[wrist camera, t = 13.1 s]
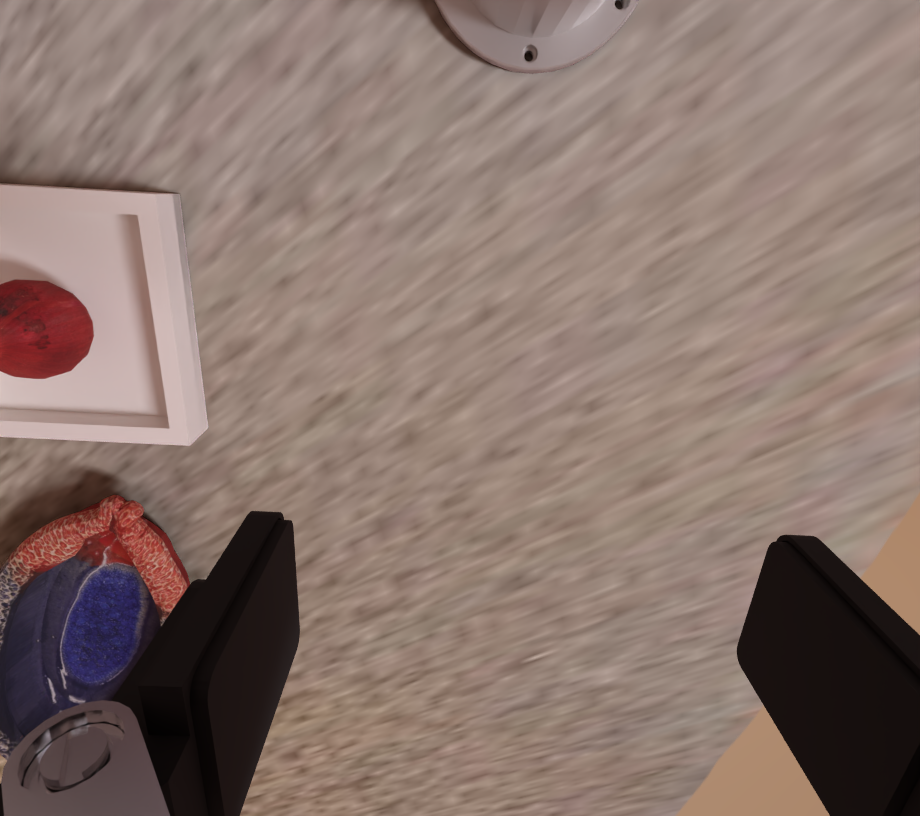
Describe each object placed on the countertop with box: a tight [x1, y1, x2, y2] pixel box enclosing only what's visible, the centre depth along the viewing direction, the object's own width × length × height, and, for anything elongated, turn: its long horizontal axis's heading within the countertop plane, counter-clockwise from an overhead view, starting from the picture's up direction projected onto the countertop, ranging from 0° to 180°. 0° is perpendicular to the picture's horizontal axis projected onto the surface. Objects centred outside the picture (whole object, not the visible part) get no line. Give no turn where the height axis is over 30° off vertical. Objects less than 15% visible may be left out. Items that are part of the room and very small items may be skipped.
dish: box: [0, 495, 190, 761], centre depth 45 cm, size 16×31×5 cm, turn 151°
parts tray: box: [0, 183, 208, 446], centre depth 36 cm, size 16×16×3 cm
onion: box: [0, 279, 94, 379], centre depth 32 cm, size 6×6×8 cm
